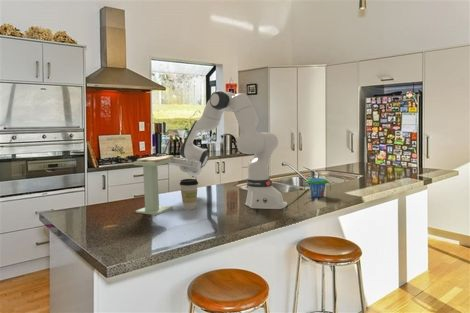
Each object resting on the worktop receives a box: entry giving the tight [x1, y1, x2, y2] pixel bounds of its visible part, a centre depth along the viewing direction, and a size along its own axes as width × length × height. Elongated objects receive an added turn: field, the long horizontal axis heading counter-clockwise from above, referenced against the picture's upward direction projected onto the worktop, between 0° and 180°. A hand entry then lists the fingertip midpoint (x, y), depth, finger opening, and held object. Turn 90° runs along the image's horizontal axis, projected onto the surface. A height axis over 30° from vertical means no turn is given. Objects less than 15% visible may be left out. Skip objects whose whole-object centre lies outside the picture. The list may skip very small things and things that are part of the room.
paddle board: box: [136, 154, 175, 163], centre depth 197 cm, size 12×21×1 cm, turn 155°
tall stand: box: [132, 160, 174, 216], centre depth 193 cm, size 13×14×26 cm
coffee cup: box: [179, 178, 199, 211], centre depth 198 cm, size 10×10×15 cm
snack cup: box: [303, 177, 332, 198], centre depth 221 cm, size 16×10×10 cm
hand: (178, 159), depth 209 cm, fingers open, 8 cm apart
